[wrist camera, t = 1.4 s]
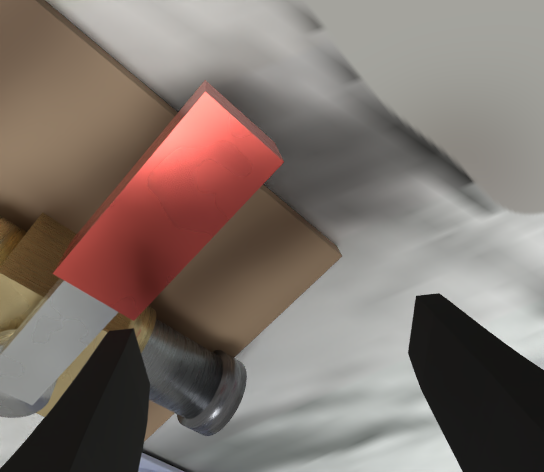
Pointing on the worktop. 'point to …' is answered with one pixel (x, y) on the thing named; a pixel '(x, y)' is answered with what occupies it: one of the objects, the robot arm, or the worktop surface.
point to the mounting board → (114, 167)
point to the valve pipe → (149, 331)
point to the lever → (138, 241)
